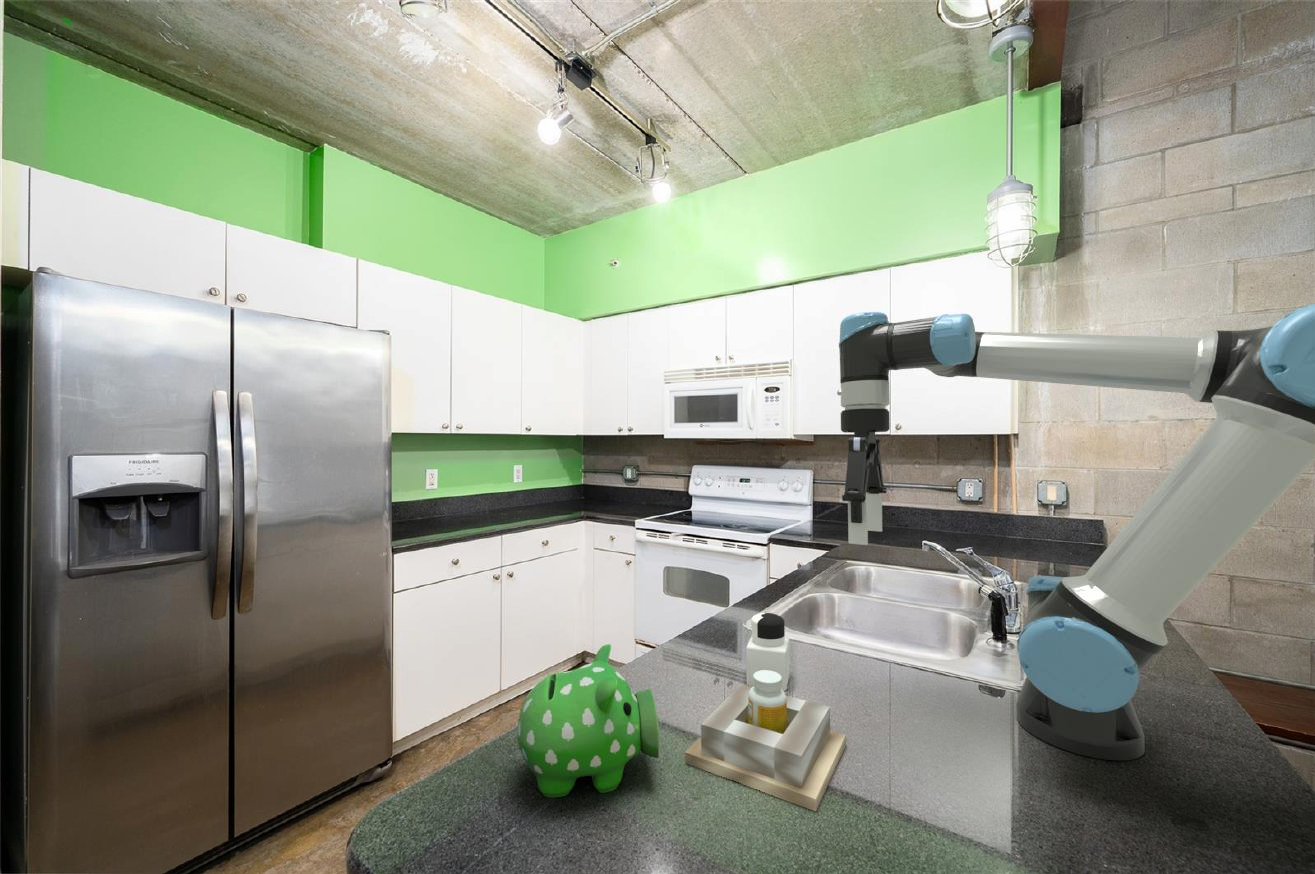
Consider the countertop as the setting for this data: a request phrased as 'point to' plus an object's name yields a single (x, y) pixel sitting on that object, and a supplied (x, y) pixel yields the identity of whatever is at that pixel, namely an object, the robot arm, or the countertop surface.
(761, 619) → the medicine bottle
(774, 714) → the supplement bottle
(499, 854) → the countertop surface
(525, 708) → the piggy bank
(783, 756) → the block
